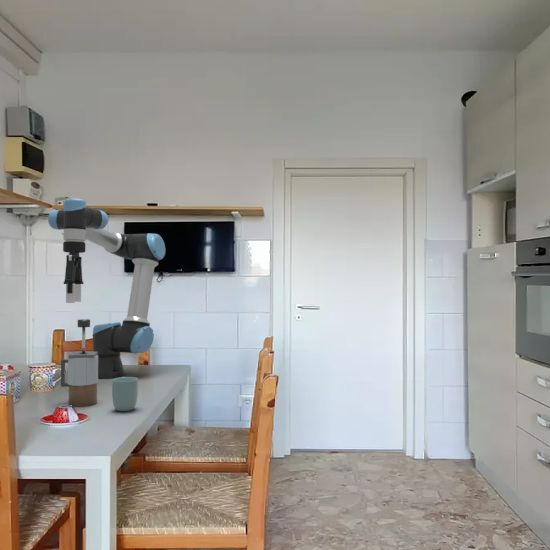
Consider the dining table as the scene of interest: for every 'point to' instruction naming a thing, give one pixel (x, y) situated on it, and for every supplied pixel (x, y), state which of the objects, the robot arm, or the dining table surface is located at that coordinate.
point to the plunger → (83, 331)
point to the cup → (124, 393)
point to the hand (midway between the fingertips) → (73, 302)
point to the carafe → (81, 378)
